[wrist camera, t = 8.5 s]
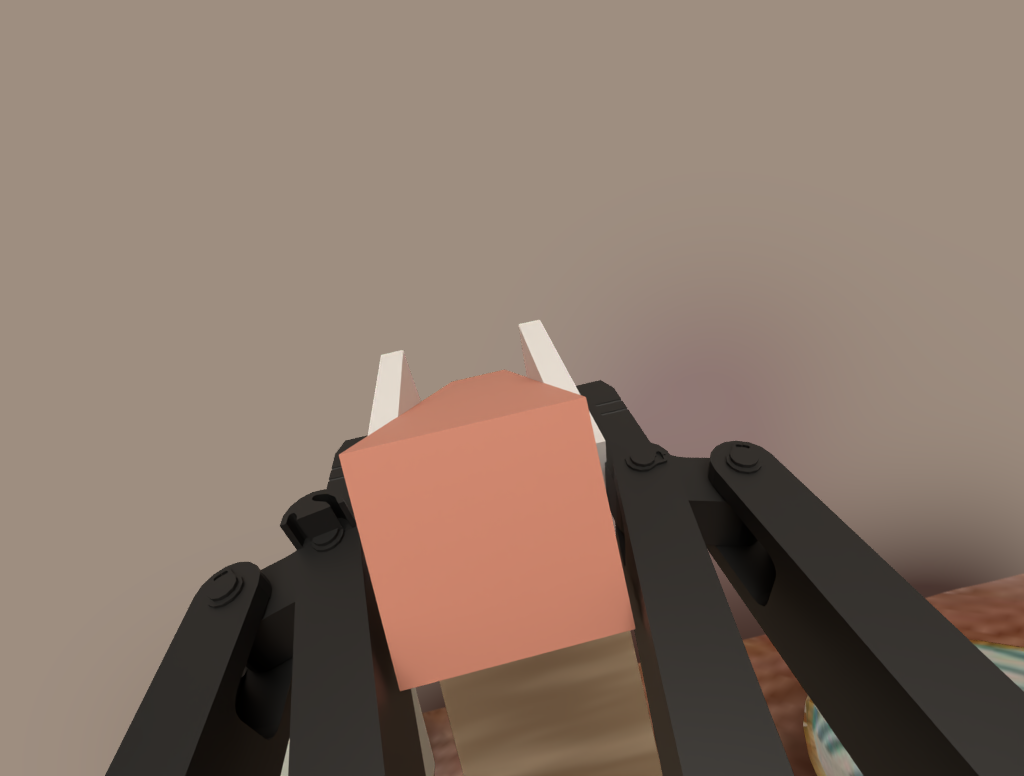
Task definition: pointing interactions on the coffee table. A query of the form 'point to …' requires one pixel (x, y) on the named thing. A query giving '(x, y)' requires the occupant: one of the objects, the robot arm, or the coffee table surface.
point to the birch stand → (555, 714)
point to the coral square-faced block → (487, 528)
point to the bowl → (830, 755)
